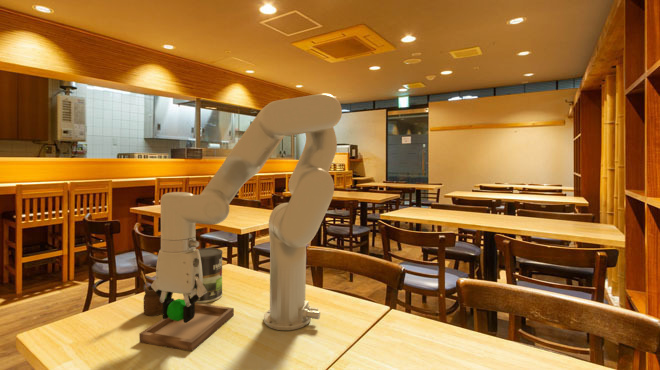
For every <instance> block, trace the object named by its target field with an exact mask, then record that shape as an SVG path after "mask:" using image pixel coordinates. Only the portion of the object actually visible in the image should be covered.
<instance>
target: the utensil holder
mask: <svg viewBox="0 0 660 370" xmlns="http://www.w3.org/2000/svg"><path fill="white" fill-rule="evenodd" d="M141 275H142V279H143V282H144V284H145V289H144V296H143V313H144V315H145V316H149V317H153V316H158V315H163V303H161V302H160V297H159V296H158V295H157V293H156V292H155V291H154V289H153V288H152V287H151V285H148V284H147V279H146V278H145V275H144V271H141Z"/></svg>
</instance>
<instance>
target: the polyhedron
mask: <svg viewBox="0 0 660 370" xmlns="http://www.w3.org/2000/svg"><path fill="white" fill-rule="evenodd" d="M185 305H186V304H185V300H184V299H182V298H177V299H174V301H172V302H171V303H170V304H169V306H168V308H167V315H168V317H169V318H170V319H172V320H175V321H180V320H183V307H184V306H185Z"/></svg>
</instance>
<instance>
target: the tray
mask: <svg viewBox="0 0 660 370" xmlns="http://www.w3.org/2000/svg"><path fill="white" fill-rule="evenodd" d="M234 311H235V310H234V307H227V306H221V305H213V304H207V303H195V315H194V318H193V319H191V320H190V321H188V322H187V323H184V321H183V320H180V321H175V320H172V319H170V318H169V317H168V318H167V319H163V318H161V319H160V320H159V321H157V322H154V324H152V325H151V326H149V327H147V328H146V329H144V330H143V331H141V332H139V335H138V336H139V343H141V344H148V345H151V346H152V345H153V346H159V347H165V348H169V349H174V350H180V351H182V350H183V351H186V352H193V351H194V350H196V349H197V348H198V347H199V346H200V345H201V344H202V343H204V342H205V341H206V340H207V339H208V338H210V337H211V336H212V335H213V334H214V333H215V332H216V331H218V330H219V329H220V328H221V327H222V326H223V325H225V323H226V324H227V322H229V320H230V319H231V318H232V317H234V315H235V314H234V313H235V312H234Z"/></svg>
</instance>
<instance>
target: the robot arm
mask: <svg viewBox="0 0 660 370" xmlns="http://www.w3.org/2000/svg"><path fill="white" fill-rule="evenodd" d="M342 110H343V109H342V105H341V103H340V101H339V100H338V99H337V98H336V97H335V96H333V95H332V94H330V93H318V94H312V95H311V94H310V95H307V96H306V95H304V96H298V97H292V98H286V99H279V100H274V101H271V102H268V104H267V105H265V106H264V107H263V108H261V109H260V111H259V112H258V113H257V115H256V116H255V117H254V119H253V121H251V123H250V124H249V125H248V127H247V129H245V131H244V133H243V134H242V135H241V137H240V138H239V139H238V140H237V142H236V144H235V145H234V146H233V147H232V149H231V151H230V152H229V153H228V154H227V156H226V158H225V160H224V161H223V163H222V164H221V166H220V167H219V169H218V170H217V171H216V172H215V173H214V175H213V177H212V178H211V180H210V181H209V182H208V183H207V185H206V186H205V187H204V189H203V190H202V191H201V192H200V194H193V193H191V192H188V191H184V192H183V191H172V192H167V193H164V194H162V196H161V198H160V249H159V251H158V254H157V259H156V267H155V279H154V280H153V282H152V283H151V287H152V288H153V289H154V291H155V292H156V293H157V295H158V296H159V297H160V302H161V303H163V313H162V319H167V318H168V315H167V308H168V306H169V304H170V303H171V302H172V301H174V300H175V299H174V298H172V297H173V294H180V295H183V300H185V304H186V305H185V306H184V307H183V321H184V323H187V322H188V321H190V320H191V319H193V318H194V315H195V302H197V300H198V299H199V298H200V297H202V296H203V295H204V294H206V293H207V290H206V288H205V287H204V285H203V275H202V264H201V257H200V253H199V250H198V249H199V248H198V247H200V242H199V241H197V239H196V234H197V233H196V224H202V225H203V224H204V225H217V224H221V223H222V222H224V221H225V220H226V219H227V218H228V217H229V213H230V204H231V202H232V200H233V199H234V198H235V196H236V195H237V194H238V192H239V191H240V189H241V188H243V186H244V184H245V183H247V182H248V181H249V180H250V179H252V178H253V177H255V176H256V175H257V174H258V173H259V172H260V171H261V170H262V168H263V167H264V165H265V164H266V163H267V161H269V158H271V156H272V154H273V153H274V151H275V150H276V148H277V147H278V146H279V144H280V143H281V141H282V140H283V138H284V137H289V136H290V137H291V136H296V135H301V134H304V135H305V144H304V147H303V150H302V152H301V155H300V157H299V159H298V161H297V163H296V165H295V167H294V170H293V171H292V173H291V176H290V178H289V180H288V190H289V193H290V194H291V196H290V199H289V200H288V202H283V203H280V204H278V205H277V206H275V207H274V208H273V209H272V211H271V212H270V215H269V218H268V219H269V220H268V235H269V253H270V255H269V257H270V258H269V262H270V264H269V310H267V311H266V312H265V313H264V314H263V323H264V324H265V326H267V327H269V328H271V329H273V330H277V331H294V330H298V329H301V328H303V327H306V326H307V325H308V324H309V323H310V322H311V320H312V319H313V320H320V318H321V311H319V308H318V307H311V306H309V301H308V300H306V286H307V285H306V283H307V282H306V280H307V279H306V277H307V275H306V274H307V273H306V272H307V247H306V246H307V245H308V244H310V242H311V241H312V240H313V239H314V237H315V236H316V235H317V233H318V231H319V229H320V227H321V224H322V222H323V220H324V217H325V216H326V214H327V211H328V209H329V207H330V204H331V202H332V200H333V195H334V192H335V182H334V178H333V177H332V175H331V173H330V172H329V171H330V168H331V166H332V164H333V161H334V159H335V156H336V153H337V147H338V144H337V143H338V141H337V140H338V139H337V135H336V131H335V128H334V127H335V126H336V125H337V124H338V123H339V122H340V121H341V118H342V114H343V111H342ZM337 126H338V125H337ZM194 288H195V289H197V291H198V292H197V294H196V293H195V289H194ZM189 294H190V296H191V299H190V296H189Z"/></svg>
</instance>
